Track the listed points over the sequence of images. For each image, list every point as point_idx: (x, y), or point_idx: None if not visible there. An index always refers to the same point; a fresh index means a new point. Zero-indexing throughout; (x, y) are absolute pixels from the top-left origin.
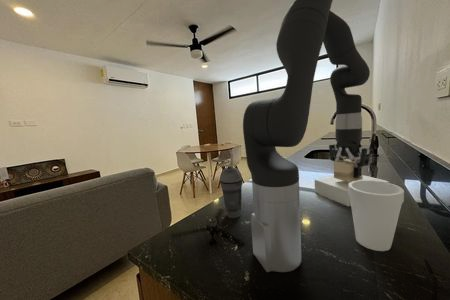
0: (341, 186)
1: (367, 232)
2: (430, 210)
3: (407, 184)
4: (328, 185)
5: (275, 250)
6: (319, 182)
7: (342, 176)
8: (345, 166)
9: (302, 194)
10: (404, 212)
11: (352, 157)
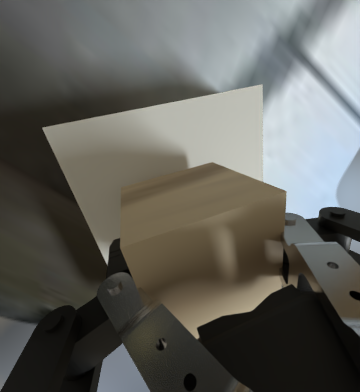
0: (127, 145)
1: None
2: (18, 318)
3: None
4: (172, 102)
5: None
6: (228, 92)
7: (166, 181)
8: (160, 218)
9: (225, 23)
10: (4, 260)
11: (138, 354)
